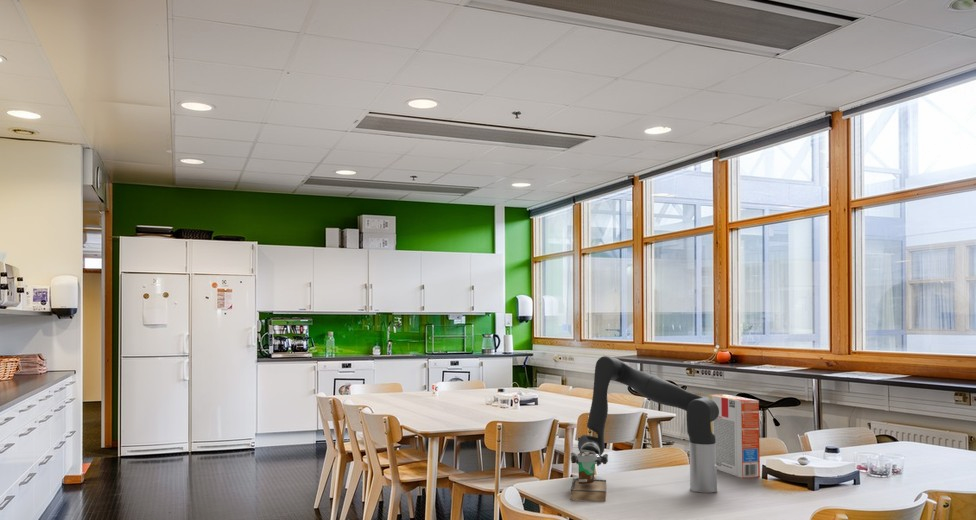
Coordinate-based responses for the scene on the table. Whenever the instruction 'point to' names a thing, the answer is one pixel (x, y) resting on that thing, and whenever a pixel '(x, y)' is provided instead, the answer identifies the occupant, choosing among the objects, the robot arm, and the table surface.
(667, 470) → the table surface
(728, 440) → the pasta box
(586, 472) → the food container
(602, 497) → the dock
